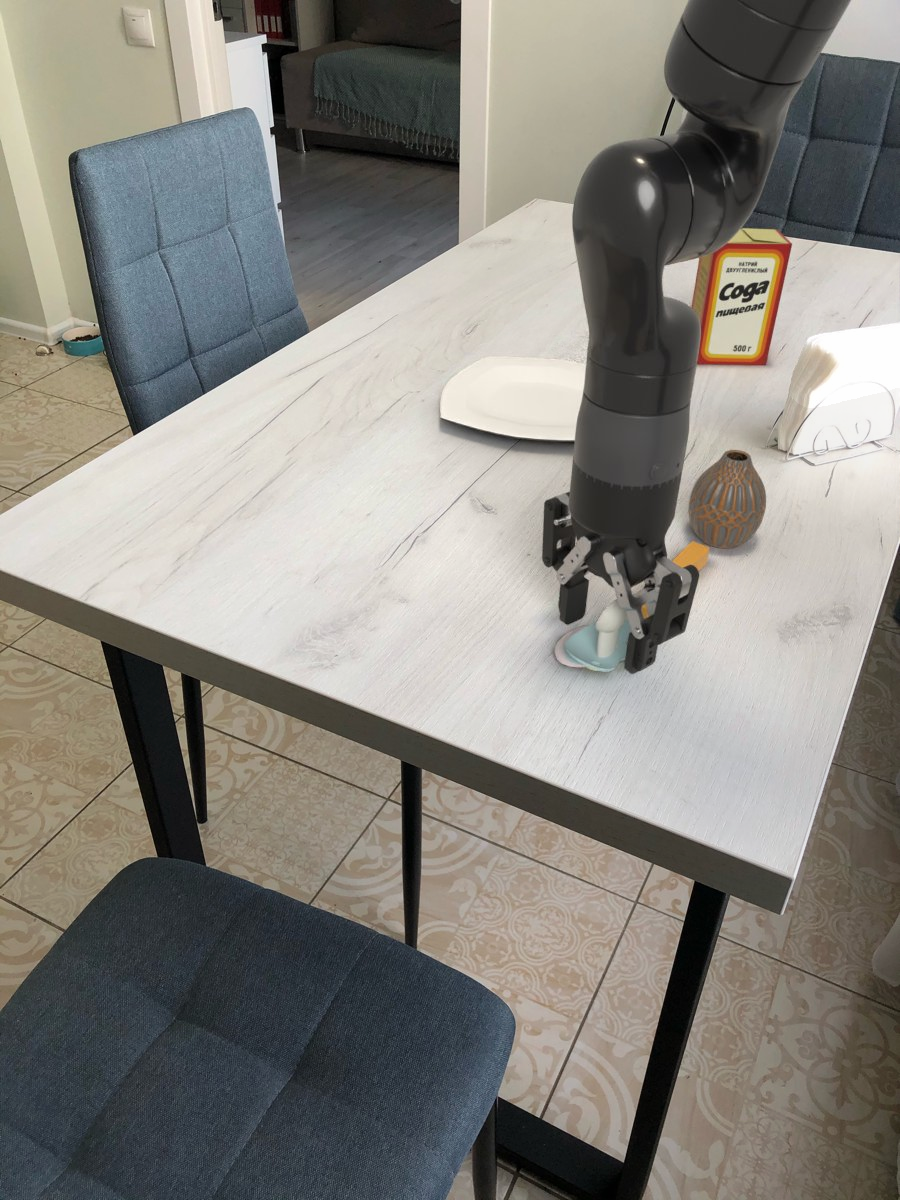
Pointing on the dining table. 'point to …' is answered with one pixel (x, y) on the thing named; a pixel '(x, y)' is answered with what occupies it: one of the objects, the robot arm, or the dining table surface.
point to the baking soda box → (740, 297)
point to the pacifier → (597, 642)
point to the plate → (517, 397)
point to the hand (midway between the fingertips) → (603, 642)
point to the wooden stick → (688, 561)
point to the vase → (728, 501)
